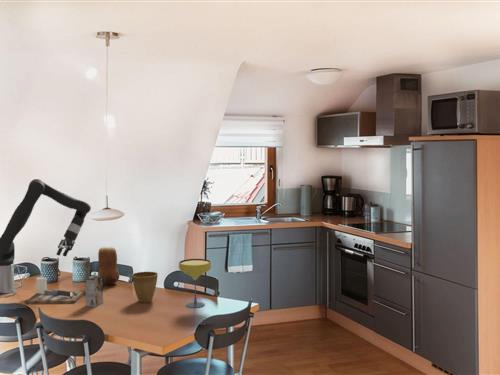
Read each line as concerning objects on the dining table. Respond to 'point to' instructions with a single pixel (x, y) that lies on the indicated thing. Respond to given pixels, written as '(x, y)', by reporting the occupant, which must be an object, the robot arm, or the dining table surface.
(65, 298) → the board
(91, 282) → the coffee box
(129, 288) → the dining table surface
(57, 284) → the dining table surface
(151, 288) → the plant pot
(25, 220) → the robot arm
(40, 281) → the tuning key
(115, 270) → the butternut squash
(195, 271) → the cocktail glass
